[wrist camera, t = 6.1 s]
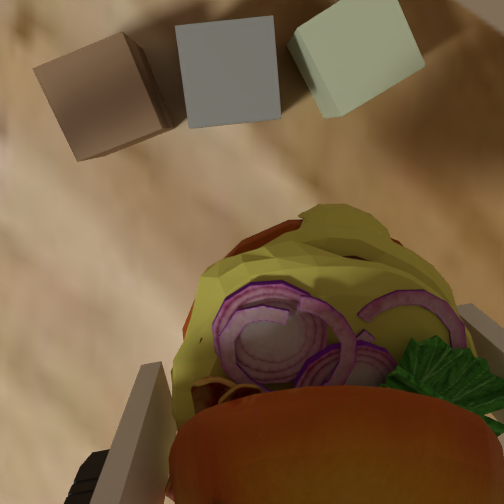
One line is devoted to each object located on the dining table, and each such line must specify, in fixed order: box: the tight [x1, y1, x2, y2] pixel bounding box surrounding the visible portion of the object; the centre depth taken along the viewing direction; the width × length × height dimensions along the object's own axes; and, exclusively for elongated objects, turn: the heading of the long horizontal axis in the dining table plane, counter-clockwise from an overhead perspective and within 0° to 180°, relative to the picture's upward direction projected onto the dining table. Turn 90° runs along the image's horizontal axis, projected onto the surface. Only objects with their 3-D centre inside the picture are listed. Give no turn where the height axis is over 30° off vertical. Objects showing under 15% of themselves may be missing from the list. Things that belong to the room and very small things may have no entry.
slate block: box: [175, 15, 281, 128], centre depth 25 cm, size 5×5×5 cm
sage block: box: [286, 0, 426, 118], centre depth 25 cm, size 5×5×5 cm
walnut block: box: [33, 32, 175, 162], centre depth 25 cm, size 5×5×5 cm
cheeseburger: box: [165, 204, 504, 504], centre depth 13 cm, size 10×11×10 cm
